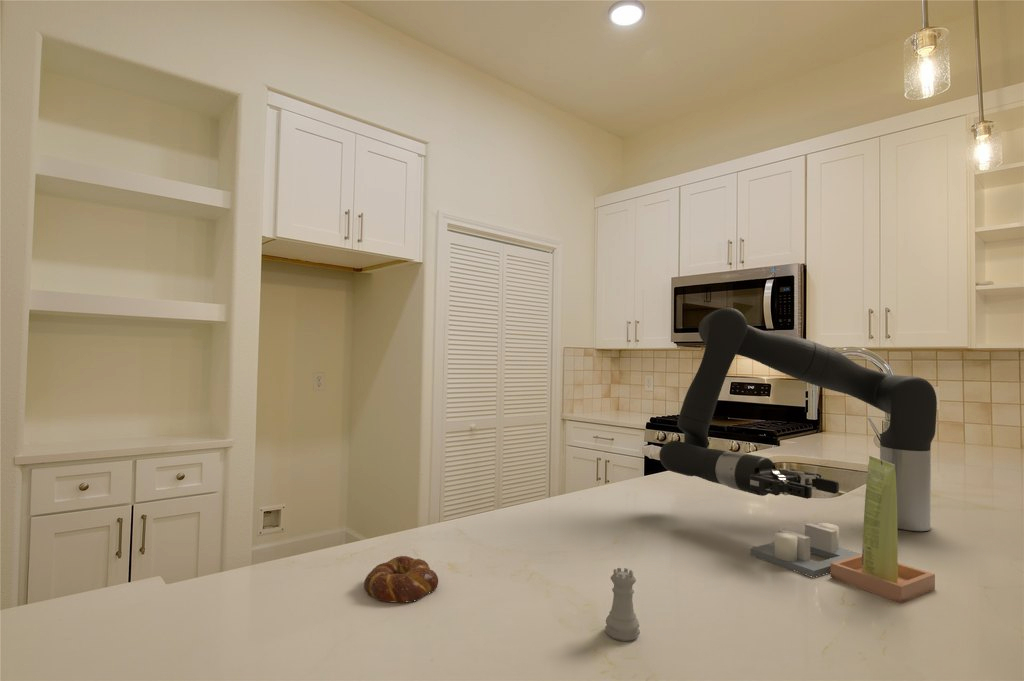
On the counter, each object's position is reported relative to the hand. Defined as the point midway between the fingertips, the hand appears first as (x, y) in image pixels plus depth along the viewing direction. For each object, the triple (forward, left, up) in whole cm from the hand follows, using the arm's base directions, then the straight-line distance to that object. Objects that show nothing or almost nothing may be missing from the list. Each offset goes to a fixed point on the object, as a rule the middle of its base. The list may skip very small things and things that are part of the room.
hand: (824, 490), depth 98 cm
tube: (0, +9, -13) cm, 16 cm away
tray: (0, +9, -13) cm, 16 cm away
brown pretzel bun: (+70, -25, -13) cm, 75 cm away
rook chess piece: (+49, +2, -13) cm, 51 cm away
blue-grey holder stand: (0, -3, -13) cm, 13 cm away
